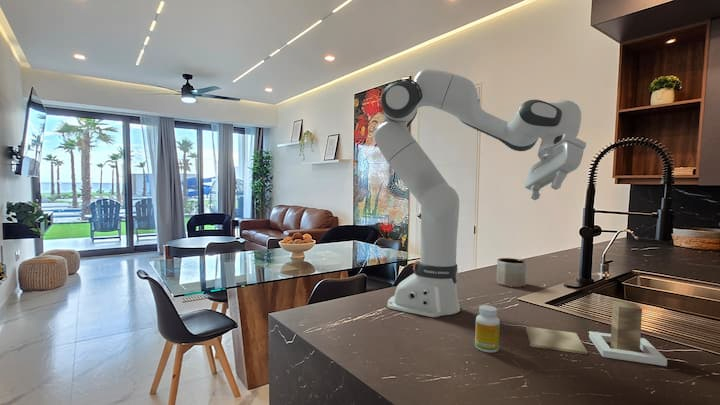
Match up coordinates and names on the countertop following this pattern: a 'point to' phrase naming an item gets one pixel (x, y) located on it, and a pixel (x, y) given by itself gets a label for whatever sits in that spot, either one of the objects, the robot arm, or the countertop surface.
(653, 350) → the frame
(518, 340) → the countertop surface
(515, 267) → the planter
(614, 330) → the walnut block
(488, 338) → the supplement bottle
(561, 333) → the oak board
